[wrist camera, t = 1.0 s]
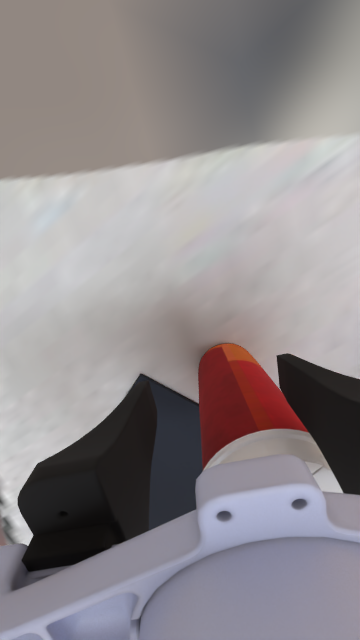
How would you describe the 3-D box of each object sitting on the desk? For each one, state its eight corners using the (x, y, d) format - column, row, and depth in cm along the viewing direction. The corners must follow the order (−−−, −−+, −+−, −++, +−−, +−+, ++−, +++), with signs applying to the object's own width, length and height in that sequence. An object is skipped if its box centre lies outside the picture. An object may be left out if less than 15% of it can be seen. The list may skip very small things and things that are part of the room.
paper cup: (197, 408, 26) (218, 580, 13) (179, 343, 24) (182, 472, 11) (271, 391, 26) (370, 552, 13) (259, 323, 24) (366, 434, 10)
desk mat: (266, 440, 28) (267, 442, 28) (172, 543, 33) (172, 547, 33) (140, 373, 25) (140, 375, 25) (59, 498, 30) (58, 501, 30)
